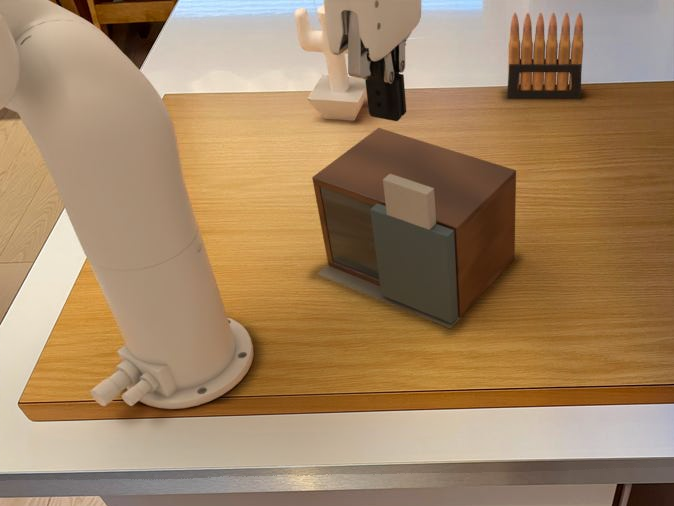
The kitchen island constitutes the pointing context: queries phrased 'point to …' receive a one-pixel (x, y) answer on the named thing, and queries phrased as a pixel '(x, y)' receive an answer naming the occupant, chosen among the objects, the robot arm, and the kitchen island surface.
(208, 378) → the robot arm
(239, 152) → the kitchen island surface
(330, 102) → the figurine
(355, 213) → the cabinet
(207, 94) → the kitchen island surface
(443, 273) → the grey sliding door
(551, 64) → the ammunition clip
